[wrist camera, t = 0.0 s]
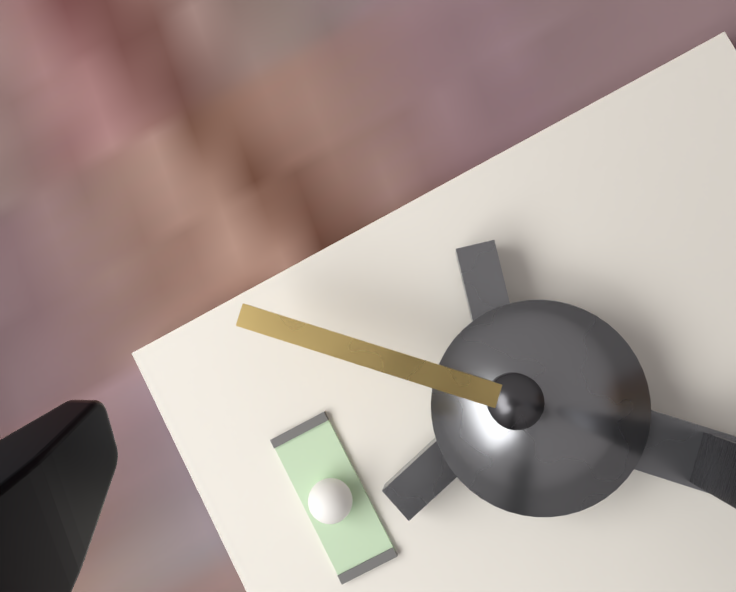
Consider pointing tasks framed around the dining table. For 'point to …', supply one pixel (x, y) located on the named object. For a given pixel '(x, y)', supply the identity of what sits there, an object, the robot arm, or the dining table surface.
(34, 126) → the dining table surface
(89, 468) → the robot arm
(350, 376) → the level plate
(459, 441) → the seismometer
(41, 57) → the dining table surface
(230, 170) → the dining table surface
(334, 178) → the dining table surface
